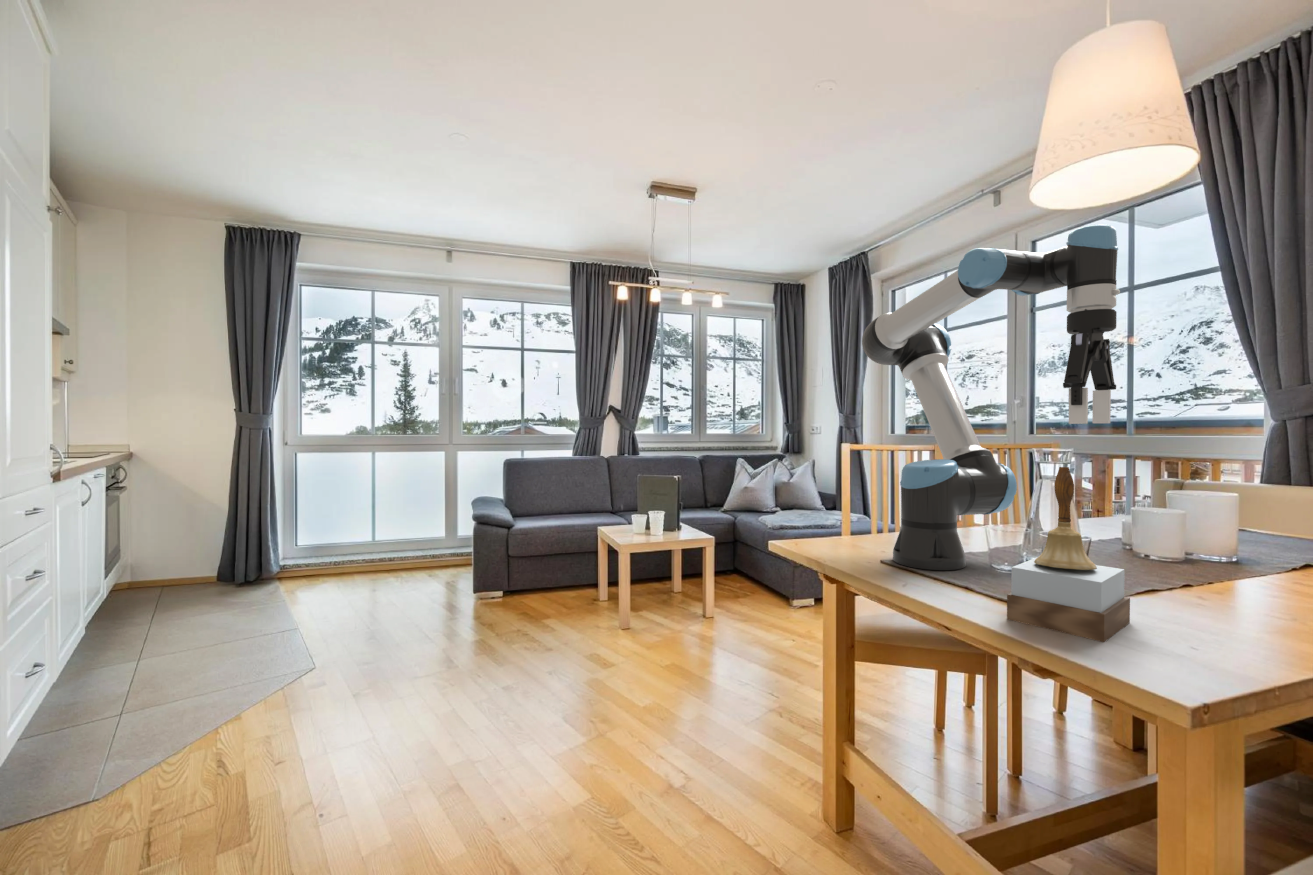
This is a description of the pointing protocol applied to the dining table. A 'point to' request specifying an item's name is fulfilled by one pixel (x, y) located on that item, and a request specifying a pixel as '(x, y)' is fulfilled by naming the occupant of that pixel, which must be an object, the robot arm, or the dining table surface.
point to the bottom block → (1070, 617)
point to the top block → (1069, 585)
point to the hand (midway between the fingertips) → (1090, 423)
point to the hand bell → (1064, 532)
